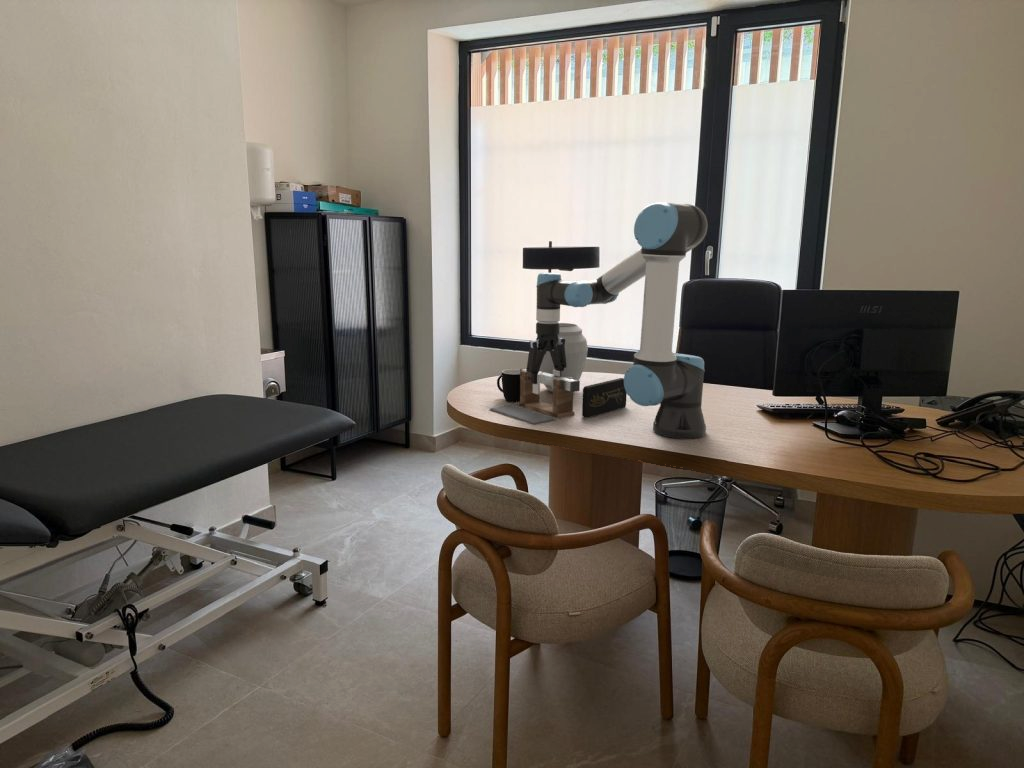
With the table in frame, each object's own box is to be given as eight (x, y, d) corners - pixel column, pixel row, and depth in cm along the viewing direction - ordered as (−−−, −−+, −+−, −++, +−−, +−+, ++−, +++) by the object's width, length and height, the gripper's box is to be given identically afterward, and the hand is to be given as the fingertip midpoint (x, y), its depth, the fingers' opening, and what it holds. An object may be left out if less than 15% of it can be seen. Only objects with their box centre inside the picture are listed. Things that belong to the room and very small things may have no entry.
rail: (579, 390, 215) (579, 380, 214) (571, 392, 213) (572, 382, 212) (527, 377, 234) (527, 367, 234) (519, 378, 232) (520, 368, 232)
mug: (532, 399, 240) (532, 371, 238) (517, 404, 233) (517, 375, 231) (505, 395, 247) (505, 367, 245) (489, 399, 240) (489, 370, 238)
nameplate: (621, 406, 233) (622, 377, 231) (625, 407, 232) (627, 378, 230) (581, 417, 219) (582, 386, 216) (586, 418, 217) (587, 387, 215)
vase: (554, 382, 268) (556, 320, 262) (596, 390, 255) (599, 325, 250) (522, 391, 253) (523, 324, 248) (565, 399, 241) (567, 330, 236)
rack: (574, 415, 221) (575, 378, 218) (559, 418, 217) (560, 380, 214) (533, 402, 236) (534, 368, 233) (518, 405, 232) (519, 370, 229)
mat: (556, 420, 215) (556, 418, 215) (534, 424, 209) (534, 422, 209) (511, 406, 231) (511, 404, 231) (490, 410, 226) (490, 408, 226)
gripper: (563, 318, 229) (561, 385, 234) (515, 323, 217) (514, 393, 221) (579, 320, 224) (577, 389, 229) (530, 325, 211) (529, 398, 216)
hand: (546, 391), depth 225 cm, fingers open, 8 cm apart
